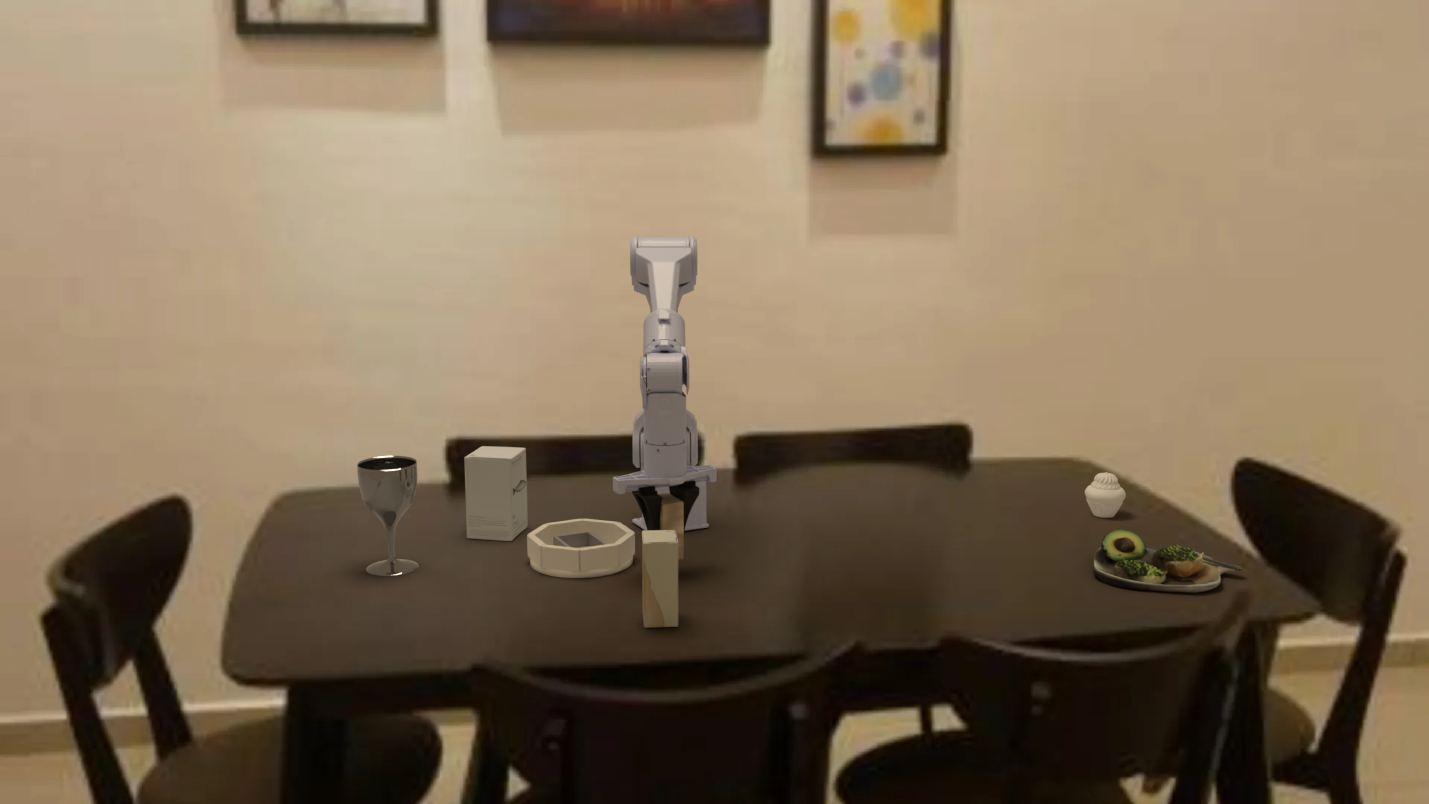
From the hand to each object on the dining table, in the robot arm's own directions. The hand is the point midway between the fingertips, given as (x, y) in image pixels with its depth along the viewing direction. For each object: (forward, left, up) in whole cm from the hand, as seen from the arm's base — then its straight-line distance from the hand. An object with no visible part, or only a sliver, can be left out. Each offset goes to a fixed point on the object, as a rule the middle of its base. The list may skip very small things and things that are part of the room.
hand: (665, 537), depth 187 cm
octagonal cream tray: (+9, -10, -5) cm, 14 cm away
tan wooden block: (0, 0, -2) cm, 2 cm away
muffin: (-73, +5, -5) cm, 73 cm away
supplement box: (+15, -28, -5) cm, 32 cm away
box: (+8, +16, -5) cm, 19 cm away
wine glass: (+33, -19, -5) cm, 38 cm away
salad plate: (-60, +29, -6) cm, 67 cm away
